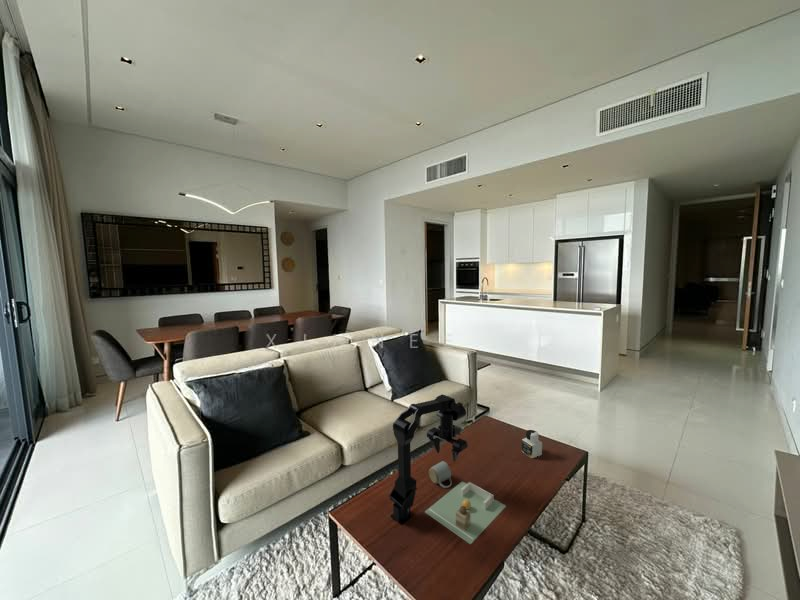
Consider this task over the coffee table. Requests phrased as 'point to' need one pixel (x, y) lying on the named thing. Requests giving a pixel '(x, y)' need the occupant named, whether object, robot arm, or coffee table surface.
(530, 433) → the medicine bottle
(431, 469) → the ceramic mug
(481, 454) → the coffee table surface
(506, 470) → the coffee table surface
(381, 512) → the coffee table surface
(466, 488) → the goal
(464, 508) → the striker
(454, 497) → the pitch mat
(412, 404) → the robot arm
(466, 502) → the ball
